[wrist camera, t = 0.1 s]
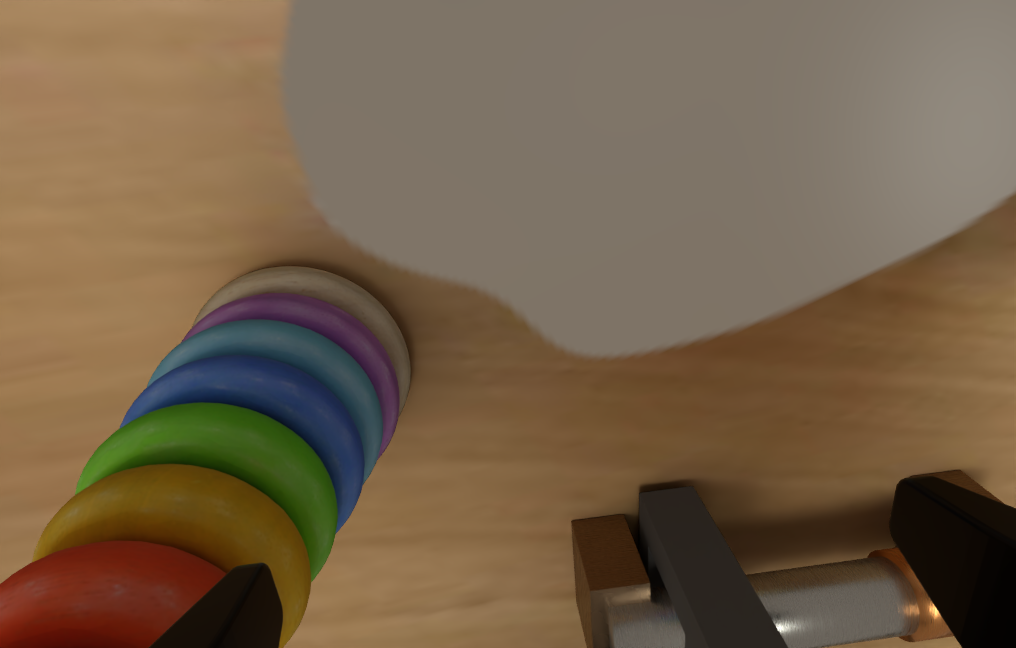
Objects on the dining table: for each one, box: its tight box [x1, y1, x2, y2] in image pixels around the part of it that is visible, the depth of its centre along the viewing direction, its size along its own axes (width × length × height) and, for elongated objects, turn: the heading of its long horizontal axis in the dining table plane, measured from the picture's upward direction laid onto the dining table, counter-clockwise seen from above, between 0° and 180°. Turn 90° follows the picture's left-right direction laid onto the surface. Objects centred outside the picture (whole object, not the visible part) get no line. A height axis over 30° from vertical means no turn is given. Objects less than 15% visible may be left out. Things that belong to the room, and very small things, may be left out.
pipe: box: [571, 470, 1004, 648], centre depth 25 cm, size 18×5×6 cm, turn 95°
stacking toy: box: [0, 266, 411, 648], centre depth 14 cm, size 8×8×19 cm
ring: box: [639, 486, 788, 648], centre depth 23 cm, size 2×8×8 cm, turn 5°
